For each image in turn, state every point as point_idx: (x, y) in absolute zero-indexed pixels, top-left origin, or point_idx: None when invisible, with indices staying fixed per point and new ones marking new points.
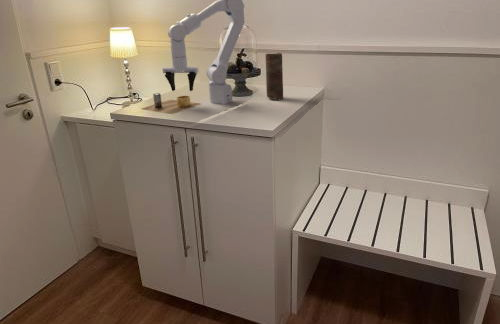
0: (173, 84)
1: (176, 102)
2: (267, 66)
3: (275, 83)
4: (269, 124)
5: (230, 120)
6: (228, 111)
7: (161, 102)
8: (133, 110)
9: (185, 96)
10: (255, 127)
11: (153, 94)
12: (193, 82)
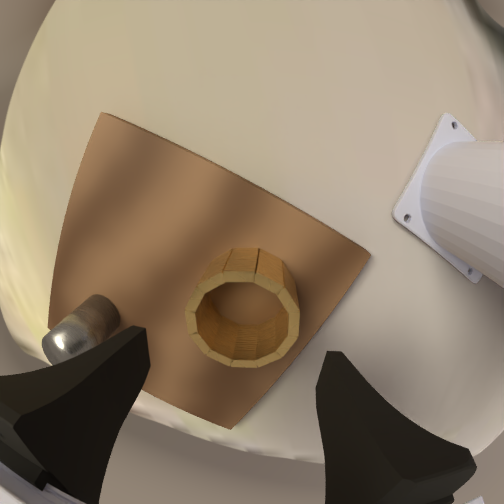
0: (121, 386)
1: (164, 203)
2: None
3: None
4: (495, 431)
5: (439, 434)
6: (471, 353)
7: (106, 329)
8: (26, 301)
9: (249, 280)
10: None
11: (50, 360)
12: (377, 405)
